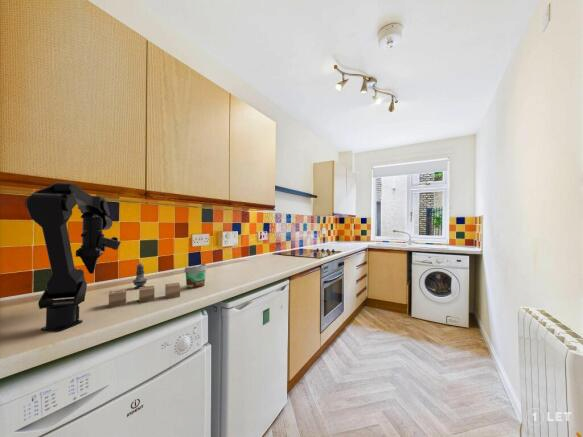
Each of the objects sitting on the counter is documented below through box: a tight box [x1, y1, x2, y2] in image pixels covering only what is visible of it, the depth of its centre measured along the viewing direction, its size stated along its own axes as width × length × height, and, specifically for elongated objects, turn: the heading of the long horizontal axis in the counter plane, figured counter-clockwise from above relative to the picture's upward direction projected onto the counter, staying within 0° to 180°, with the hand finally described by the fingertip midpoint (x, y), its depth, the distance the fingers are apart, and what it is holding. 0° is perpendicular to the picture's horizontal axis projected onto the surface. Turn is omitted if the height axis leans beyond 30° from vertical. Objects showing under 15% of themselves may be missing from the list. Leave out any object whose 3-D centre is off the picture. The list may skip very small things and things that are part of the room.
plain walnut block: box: [138, 285, 155, 304], centre depth 93 cm, size 5×5×5 cm
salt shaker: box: [132, 262, 148, 290], centre depth 112 cm, size 6×6×12 cm
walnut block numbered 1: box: [164, 282, 181, 300], centre depth 98 cm, size 5×5×5 cm
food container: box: [184, 263, 208, 290], centre depth 114 cm, size 12×6×10 cm, turn 161°
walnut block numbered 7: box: [108, 288, 127, 309], centre depth 88 cm, size 5×5×5 cm
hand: (91, 273), depth 86 cm, fingers closed
